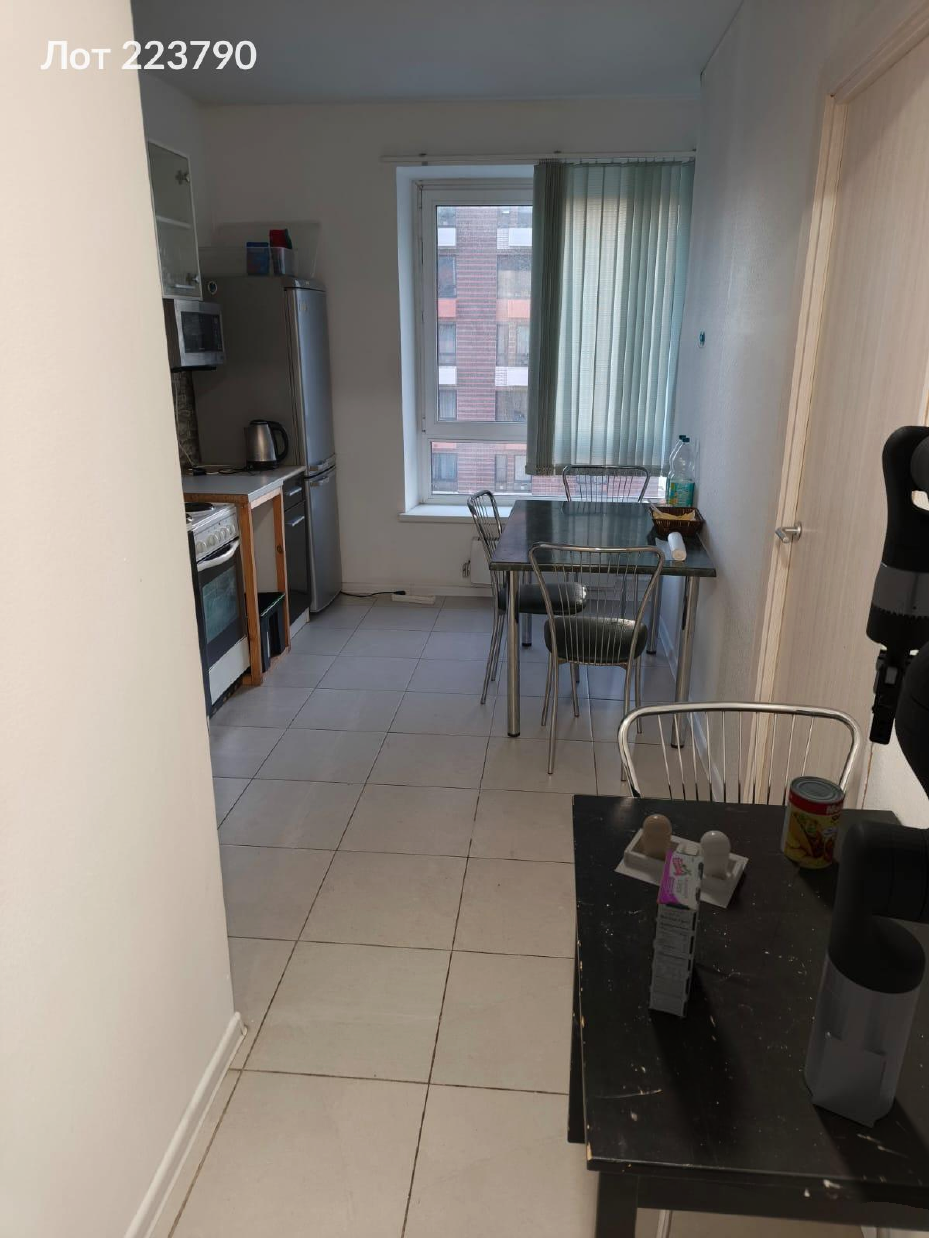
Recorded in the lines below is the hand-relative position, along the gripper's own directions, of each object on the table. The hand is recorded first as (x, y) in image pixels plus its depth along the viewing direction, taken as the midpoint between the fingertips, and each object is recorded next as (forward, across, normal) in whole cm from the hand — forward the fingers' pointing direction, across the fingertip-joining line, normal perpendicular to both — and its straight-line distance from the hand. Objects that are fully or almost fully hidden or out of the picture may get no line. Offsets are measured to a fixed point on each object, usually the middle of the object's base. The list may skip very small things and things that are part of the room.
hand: (882, 728), depth 105 cm
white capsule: (+34, +8, +20) cm, 40 cm away
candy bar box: (+34, -17, +18) cm, 42 cm away
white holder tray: (+34, +8, +24) cm, 42 cm away
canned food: (+34, +22, +8) cm, 42 cm away
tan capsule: (+34, +8, +28) cm, 45 cm away
